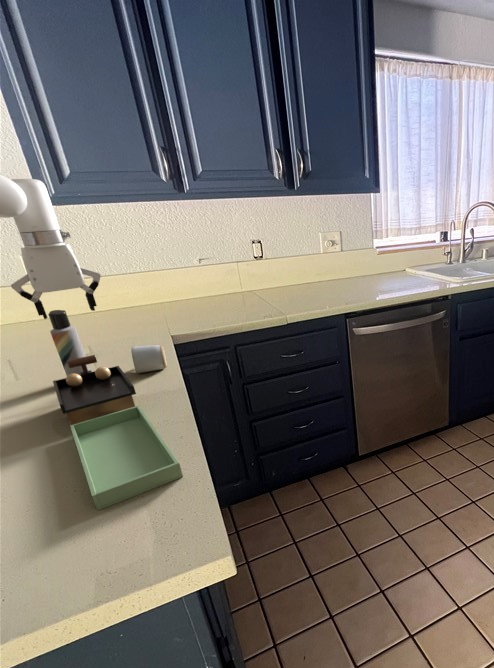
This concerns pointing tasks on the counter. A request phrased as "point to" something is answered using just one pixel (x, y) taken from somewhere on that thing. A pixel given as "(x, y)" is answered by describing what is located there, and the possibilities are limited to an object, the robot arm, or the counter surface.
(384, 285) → the counter surface
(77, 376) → the ball
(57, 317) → the lotion bottle
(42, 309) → the robot arm
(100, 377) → the ball
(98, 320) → the counter surface
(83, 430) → the tray
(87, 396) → the pan
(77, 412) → the stand
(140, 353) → the ceramic mug
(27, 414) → the counter surface
